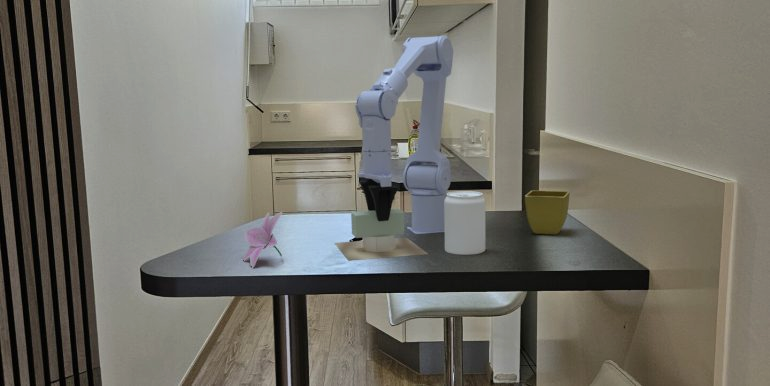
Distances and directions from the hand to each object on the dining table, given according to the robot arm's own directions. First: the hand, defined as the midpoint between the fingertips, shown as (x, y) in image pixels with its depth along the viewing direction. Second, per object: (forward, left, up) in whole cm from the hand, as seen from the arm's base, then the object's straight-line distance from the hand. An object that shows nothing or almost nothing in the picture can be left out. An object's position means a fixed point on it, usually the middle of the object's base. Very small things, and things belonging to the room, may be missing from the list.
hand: (378, 217), depth 143 cm
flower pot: (-40, -5, -7) cm, 41 cm away
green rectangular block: (0, 0, -3) cm, 3 cm away
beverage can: (-16, +7, -7) cm, 19 cm away
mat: (0, 0, -7) cm, 7 cm away
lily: (+24, +1, -7) cm, 25 cm away
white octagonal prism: (0, 0, -6) cm, 6 cm away
